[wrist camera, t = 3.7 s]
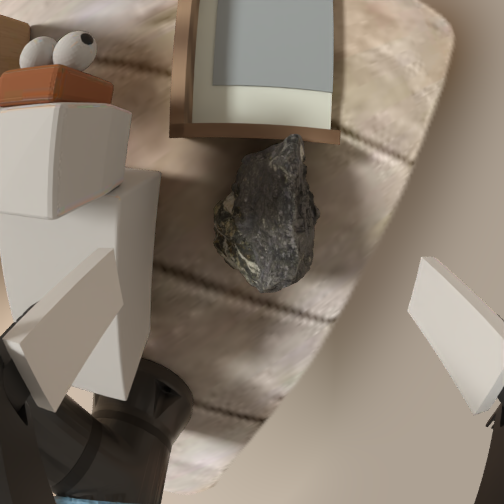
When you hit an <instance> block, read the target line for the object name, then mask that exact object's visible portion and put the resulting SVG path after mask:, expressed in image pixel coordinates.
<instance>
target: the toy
mask: <svg viewBox="0 0 504 504" xmlns="http://www.w3.org/2000/svg"><path fill="white" fill-rule="evenodd" d="M96 53H97V44H96V41H95V39H94V37H93V36H92V35H91V34H89V33H87V32H84V31H75V32H71V33H68V34H67V35H65V36H64V37H62V38H61V39H60V40H59V41H58V43H57V42H56V41H55V40H54V39H53V38H51V37H48V36H42V37H38V38H35V39H33V40H31V41H30V42H29V43H28V44H27V45H26V46H25V47H24V49H23V51H22V53H21V55H20V67H21V68H20V69H14V70H8V71H6V72H4V73H3V74H2V75H1V78H0V107H5V108H0V255H1V262H2V268H3V274H4V280H5V285H6V291H7V295H8V300H9V304H10V309H11V313H12V317H13V321H14V322H16V320H17V319H18V318H19V317H20V316H21V315H23V313H24V312H25V311H26V310H27V309H28V308H29V307H30V306H31V305H33V304H35V303H37V302H38V301H40V300H41V299H42V298H43V297H44V296H45V295H46V294H47V293H48V292H49V291H50V290H51V289H52V288H53V287H54V286H56V285H57V284H58V283H59V282H60V281H61V280H62V279H63V278H64V277H65V276H67V275H68V274H69V273H70V272H71V271H72V270H73V269H74V268H76V267H77V266H78V265H79V264H80V263H81V262H82V261H84V260H85V259H86V258H87V257H88V256H89V255H91V254H92V253H93V252H94V251H95V250H97V249H98V248H114V254H115V260H116V266H117V272H118V278H119V284H120V289H121V294H122V299H123V304H124V305H123V306H122V307H121V309H120V310H119V312H118V313H117V315H116V316H115V318H114V319H113V321H112V322H111V324H110V325H109V327H108V328H107V330H106V331H105V333H104V334H103V336H102V337H101V339H100V340H99V342H98V343H97V345H96V346H95V348H94V350H93V351H92V353H91V354H90V356H89V357H88V359H87V361H86V362H85V364H84V365H83V367H82V369H81V370H80V372H79V373H78V375H77V377H76V378H75V380H74V382H73V383H72V385H71V386H73V387H76V388H79V389H82V390H86V391H89V392H93V393H96V394H100V395H103V396H107V397H111V398H115V399H119V400H123V401H126V400H127V398H128V395H129V392H130V389H131V386H132V383H133V380H134V377H135V374H136V371H137V368H138V365H139V362H140V359H141V356H142V354H143V351H144V348H145V345H146V342H147V339H148V337H149V334H150V316H151V286H152V267H153V252H154V239H155V227H156V216H157V207H158V197H159V189H160V181H161V172H159V171H151V170H143V169H134V168H125V162H126V154H127V146H128V139H129V132H130V125H131V119H132V113H131V112H130V111H128V110H125V109H122V108H120V107H117V106H114V105H112V104H111V100H112V95H113V89H114V88H113V84H112V83H110V82H108V81H105V80H103V79H100V78H98V77H95V76H92V75H90V74H87V73H84V72H82V71H83V70H85V69H86V68H87V67H88V66H89V65H90V64H91V63H92V62H93V60H94V58H95V56H96Z"/></svg>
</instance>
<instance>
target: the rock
mask: <svg viewBox="0 0 504 504" xmlns="http://www.w3.org/2000/svg"><path fill="white" fill-rule="evenodd" d="M304 161H305V154H304V143H303V140H302V137H301V136H300V135H299V134H290V135H289V136H288V137H287V138H286V139H285V140H284V141H283V142H281V143H280V144H275V145H272V146H270V147H268V148H266V149H265V150H263V151H260V152H257V153H251V154H248V155H246V156H244V157H243V159H242V161H241V162H242V165H241V167H240V168H239V170H238V171H237V175H236V182H235V183H234V184H232V192H231V193H230V194H229V195H228V196H227V197H226V198H225V200H221V201H220V202H219V203H218V204H217V205H216V206H215V207H214V223H215V226H214V230H215V232H216V238H215V239H214V243H213V244H214V246H215V248H216V249H217V252H218V253H219V254H220V255H221V256H222V257H224V260H225V261H226V263H228V264H229V265H230V266H231V267H232V268H233V269H238V270H239V271H240V273H241V274H242V275H243V276H244V277H245V278H246V280H247V282H248V283H249V284H250V285H251V286H255V287H256V288H257V289H258V291H259V292H260V293H268V292H277V291H279V290H281V289H282V288H285V287H288V286H290V285H292V284H294V283H296V282H298V281H299V280H300V279H301V278H303V277H304V275H305V274H306V272H307V271H308V270H309V269H310V265H311V263H312V259H313V247H314V225H315V224H316V221H317V219H318V218H319V217H320V212H319V209H318V208H316V206H315V205H314V202H313V194H312V193H311V192H310V191H309V185H308V183H307V182H306V179H305V178H306V173H307V166H305V165H304V164H303V162H304Z"/></svg>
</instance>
